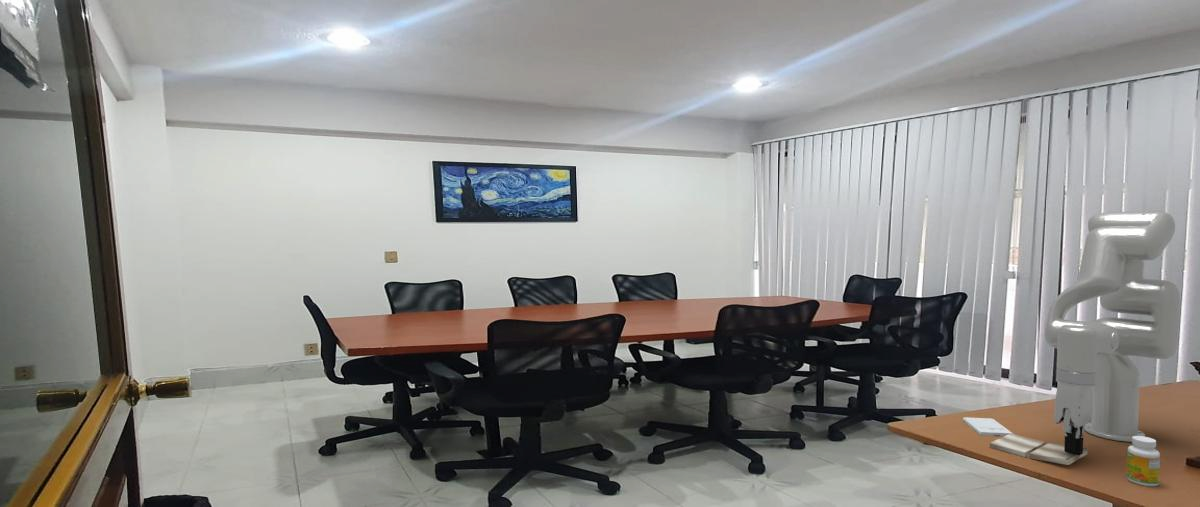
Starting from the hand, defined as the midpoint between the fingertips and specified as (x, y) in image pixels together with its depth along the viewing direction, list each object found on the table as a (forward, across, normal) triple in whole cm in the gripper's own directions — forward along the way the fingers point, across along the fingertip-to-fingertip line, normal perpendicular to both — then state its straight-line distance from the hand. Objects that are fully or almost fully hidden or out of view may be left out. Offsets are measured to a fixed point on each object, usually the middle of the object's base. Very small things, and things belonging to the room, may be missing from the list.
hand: (1073, 452), depth 146 cm
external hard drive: (+3, -10, -23) cm, 25 cm away
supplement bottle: (+3, 0, +13) cm, 13 cm away
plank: (+2, -1, -3) cm, 4 cm away
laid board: (+2, -1, -12) cm, 12 cm away
